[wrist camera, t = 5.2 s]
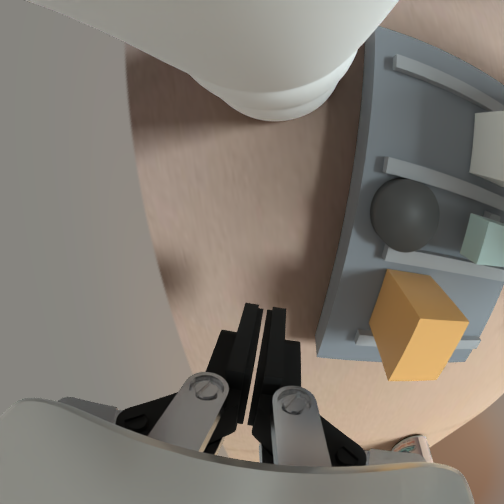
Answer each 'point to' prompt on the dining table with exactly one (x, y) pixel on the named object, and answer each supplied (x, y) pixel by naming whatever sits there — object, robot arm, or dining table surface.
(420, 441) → the beer can
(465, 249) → the block
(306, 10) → the water bottle
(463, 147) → the panel
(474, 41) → the dining table surface
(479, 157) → the ivory fader
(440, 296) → the orange fader
